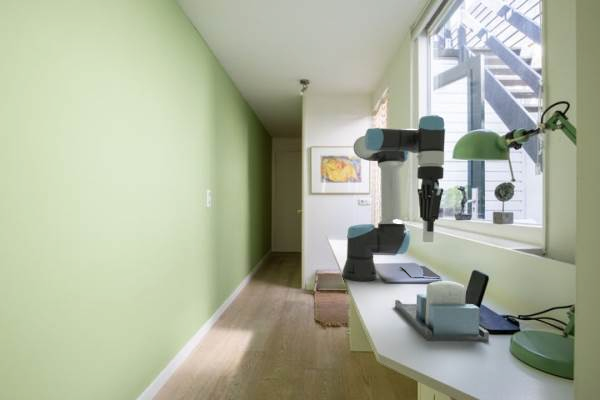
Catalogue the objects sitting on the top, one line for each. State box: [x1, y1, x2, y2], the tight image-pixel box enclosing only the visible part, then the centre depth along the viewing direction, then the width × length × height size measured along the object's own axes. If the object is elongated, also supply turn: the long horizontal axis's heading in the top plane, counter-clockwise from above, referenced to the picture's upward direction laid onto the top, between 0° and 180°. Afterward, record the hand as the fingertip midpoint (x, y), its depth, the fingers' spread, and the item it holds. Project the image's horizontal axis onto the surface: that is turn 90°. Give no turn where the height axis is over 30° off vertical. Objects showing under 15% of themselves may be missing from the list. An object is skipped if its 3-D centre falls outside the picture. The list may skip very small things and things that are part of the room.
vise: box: [394, 299, 490, 342], centre depth 93 cm, size 24×16×8 cm, turn 3°
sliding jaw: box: [416, 293, 426, 322], centre depth 92 cm, size 3×12×7 cm, turn 92°
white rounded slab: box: [425, 280, 467, 326], centre depth 88 cm, size 10×4×12 cm, turn 93°
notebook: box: [419, 265, 441, 279], centre depth 154 cm, size 13×2×21 cm
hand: (427, 241), depth 100 cm, fingers closed
